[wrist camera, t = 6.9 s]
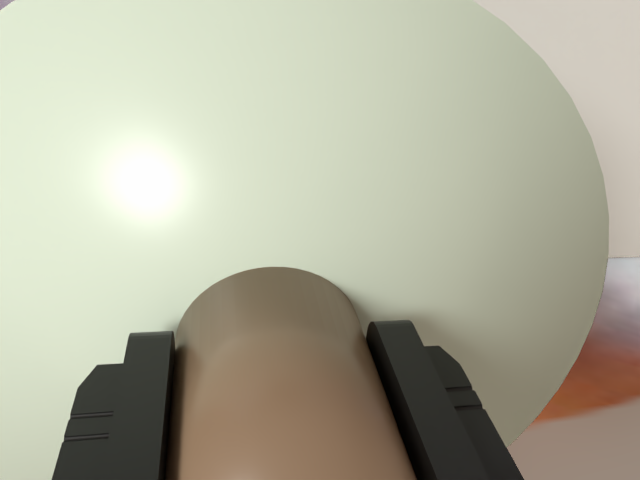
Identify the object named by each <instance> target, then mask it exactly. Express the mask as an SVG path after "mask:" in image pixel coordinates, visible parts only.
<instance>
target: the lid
mask: <svg viewBox="0 0 640 480" xmlns="http://www.w3.org/2000/svg"><path fill="white" fill-rule="evenodd" d="M608 255H609V211H608V204H607V197H606V190H605V183H604V176H603V173H602V170H601V167H600V164H599V160H598V157H597V154H596V151H595V148H594V144H593V141H592V138H591V136H590V134H589V132H588V130H587V128H586V126H585V124H584V122H583V120H582V118H581V116H580V114H579V112H578V110H577V108H576V106H575V104H574V102H573V100H572V98H571V96H570V95H569V94H568V92H567V91H566V90H565V88H564V87H563V86H562V84H561V83H560V82H559V80H558V79H557V78H556V76H555V75H554V73H553V72H552V71H551V69H550V68H549V67H548V65H547V64H546V63H545V61H544V60H543V59H542V58H541V57H540V56H539V55H538V54H537V53H536V52H535V51H534V50H533V49H532V48H531V47H530V46H529V45H528V44H527V43H526V42H525V41H524V40H523V39H522V38H521V37H520V36H518V35H517V34H516V33H515V32H514V31H513V30H512V29H511V28H510V27H509V26H508V25H507V24H506V23H505V22H503V21H502V20H500V19H499V18H497V17H496V16H495V15H493V14H492V13H490V12H489V11H487V10H486V9H484V8H483V7H481V6H480V5H479V4H477V3H476V2H474V1H473V0H15V1H13V2H11V3H10V4H9V5H7V6H6V7H4V8H3V9H2V10H0V480H52V476H53V473H54V469H55V466H56V462H57V459H58V455H59V452H60V448H61V445H62V442H64V434H65V431H66V427H67V424H68V420H70V413H71V409H72V406H73V402H74V399H75V395H76V392H77V388H78V387H79V386H80V384H81V383H82V382H83V381H84V380H85V379H86V377H87V376H88V375H89V374H90V373H91V371H92V370H93V369H94V368H95V367H96V365H102V364H119V363H123V362H124V357H125V351H126V346H127V341H128V337H129V334H130V333H136V332H157V331H173V332H174V338H175V362H174V374H173V386H172V398H171V410H170V422H169V434H168V446H167V458H166V470H165V480H417V478H416V475H415V473H414V470H413V467H412V464H411V462H410V459H409V456H408V453H407V451H406V448H405V445H404V442H403V440H402V437H401V434H400V431H399V429H398V426H397V423H396V420H395V418H394V415H393V412H392V409H391V407H390V404H389V401H388V398H387V396H386V393H385V390H384V387H383V385H382V382H381V379H380V376H379V374H378V371H377V368H376V365H375V363H374V360H373V357H372V354H371V352H370V349H369V346H368V343H367V341H366V334H367V328H368V325H369V323H370V322H372V321H392V320H410V321H411V322H412V323H413V325H414V326H415V329H416V331H417V333H418V335H419V337H420V339H421V341H422V343H423V345H424V346H440V347H441V348H442V349H444V350H445V351H446V352H447V353H448V354H449V355H450V356H452V357H453V358H454V359H455V360H456V361H457V362H458V363H460V365H461V367H462V368H463V370H464V372H465V374H466V376H467V377H468V379H469V381H470V383H471V385H472V390H475V392H476V394H477V395H478V397H479V399H480V401H481V403H482V408H483V409H485V410H486V412H487V414H488V415H489V417H490V419H491V421H492V423H493V424H494V426H495V428H496V430H497V432H498V433H499V435H500V437H501V439H502V441H503V442H504V444H505V446H506V448H507V447H508V446H509V445H511V444H512V443H513V442H514V441H515V440H516V439H517V438H518V437H519V436H520V435H521V434H522V433H523V431H524V430H525V429H526V428H527V427H528V426H529V425H530V424H531V423H532V422H533V421H534V420H535V419H536V418H537V417H538V415H539V414H540V413H541V411H542V410H543V409H544V407H545V406H546V405H547V404H548V402H549V401H550V400H551V398H552V397H553V396H554V394H555V393H556V392H557V390H558V389H559V388H560V386H561V384H562V383H563V381H564V379H565V378H566V376H567V374H568V373H569V371H570V369H571V368H572V366H573V364H574V363H575V361H576V359H577V358H578V356H579V353H580V351H581V349H582V347H583V344H584V342H585V340H586V338H587V336H588V333H589V331H590V329H591V327H592V324H593V321H594V318H595V314H596V311H597V308H598V305H599V301H600V298H601V295H602V292H603V286H604V280H605V274H606V267H607V261H608Z"/></svg>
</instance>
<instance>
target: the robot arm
mask: <svg viewBox="0 0 640 480" xmlns="http://www.w3.org/2000/svg"><path fill="white" fill-rule="evenodd" d="M366 341H367V343H368V346H369V349H370V352H371V354H372V357H373V360H374V363H375V365H376V368H377V371H378V374H379V376H380V379H381V382H382V385H383V387H384V390H385V393H386V396H387V398H388V401H389V404H390V407H391V409H392V412H393V415H394V418H395V420H396V423H397V426H398V429H399V431H400V434H401V437H402V440H403V442H404V445H405V448H406V451H407V453H408V456H409V459H410V462H411V464H412V467H413V470H414V473H415V475H416V478H417V480H524V479H523V477H522V475H521V473H520V471H519V470H518V468H517V466H516V464H515V462H514V460H513V459H512V457H511V455H510V453H509V452H508V450H507V448H506V446H505V444H504V442H503V441H502V439H501V437H500V435H499V433H498V432H497V430H496V428H495V426H494V424H493V423H492V421H491V419H490V417H489V415H488V414H487V412H486V410H485V409H483V408H482V403H481V401H480V399H479V397H478V395H477V394H476V392H475V390H472V385H471V383H470V381H469V379H468V377H467V376H466V374H465V372H464V370H463V368H462V367H461V365H460V363H458V362H457V361H456V360H455V359H454V358H453V357H452V356H450V355H449V354H448V353H447V352H446V351H445V350H444V349H442V348H441V347H440V346H424V345H423V343H422V341H421V339H420V337H419V335H418V333H417V331H416V329H415V326H414V325H413V323H412V322H411V321H410V320H392V321H372V322H370V323H369V325H368V328H367V334H366ZM174 362H175V338H174V332H173V331H157V332H136V333H130V334H129V337H128V341H127V346H126V351H125V357H124V362H123V363H119V364H102V365H96V367H95V368H94V369H93V370H92V371H91V373H90V374H89V375H88V376H87V377H86V379H85V380H84V381H83V382H82V383H81V384H80V386H79V387H78V388H77V392H76V395H75V399H74V402H73V406H72V409H71V413H70V420H68V424H67V427H66V431H65V434H64V442H62V445H61V448H60V452H59V455H58V459H57V462H56V466H55V469H54V473H53V476H52V480H165V470H166V458H167V446H168V434H169V422H170V410H171V398H172V386H173V374H174Z"/></svg>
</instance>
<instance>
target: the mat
mask: <svg viewBox="0 0 640 480" xmlns="http://www.w3.org/2000/svg"><path fill="white" fill-rule="evenodd" d="M473 1H474V2H476V3H477V4H479V5H480V6H481V7H483V8H484V9H486V10H487V11H489V12H490V13H492V14H493V15H495V16H496V17H497V18H499V19H500V20H502V21H503V22H505V23H506V24H507V25H508V26H509V27H510V28H511V29H512V30H513V31H514V32H515V33H516V34H517V35H518V36H520V37H521V38H522V39H523V40H524V41H525V42H526V43H527V44H528V45H529V46H530V47H531V48H532V49H533V50H534V51H535V52H536V53H537V54H538V55H539V56H540V57H541V58H542V59H543V60H544V61H545V63H546V64H547V65H548V67H549V68H550V69H551V71H552V72H553V73H554V75H555V76H556V78H557V79H558V80H559V82H560V83H561V84H562V86H563V87H564V88H565V90H566V91H567V92H568V94H569V95H570V96H571V98H572V100H573V102H574V104H575V106H576V108H577V110H578V112H579V114H580V116H581V118H582V120H583V122H584V124H585V126H586V128H587V130H588V132H589V134H590V136H591V138H592V141H593V144H594V148H595V151H596V154H597V157H598V160H599V164H600V167H601V170H602V173H603V176H604V183H605V190H606V197H607V204H608V211H609V255H608V258H621V257H640V0H473Z"/></svg>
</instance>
